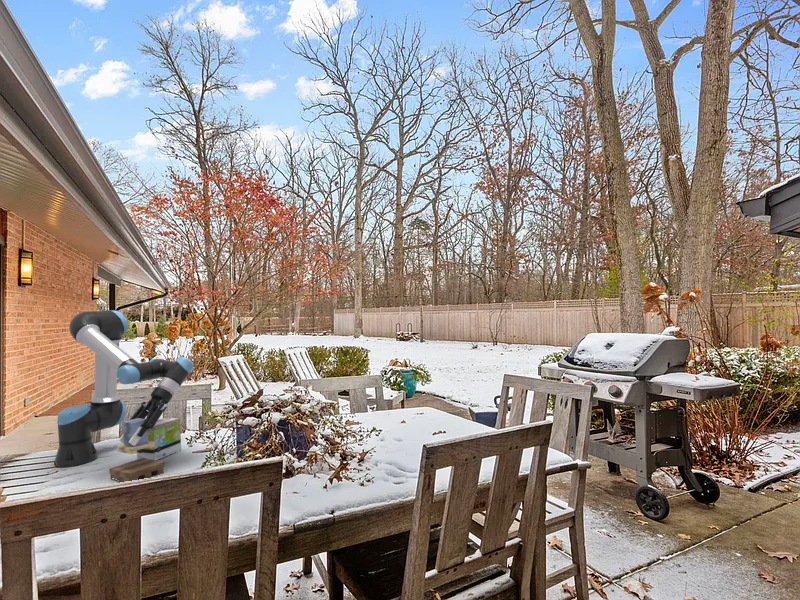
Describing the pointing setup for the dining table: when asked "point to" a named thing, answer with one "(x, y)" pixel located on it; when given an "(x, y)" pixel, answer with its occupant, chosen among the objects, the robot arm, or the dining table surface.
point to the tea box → (162, 439)
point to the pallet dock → (137, 469)
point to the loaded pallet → (134, 449)
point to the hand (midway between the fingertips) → (126, 443)
